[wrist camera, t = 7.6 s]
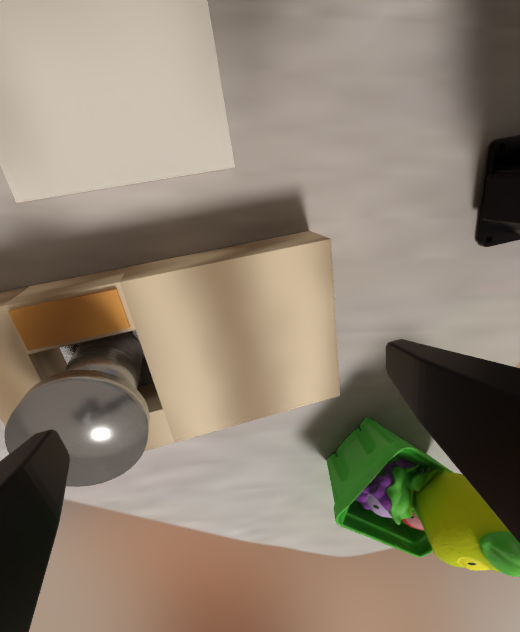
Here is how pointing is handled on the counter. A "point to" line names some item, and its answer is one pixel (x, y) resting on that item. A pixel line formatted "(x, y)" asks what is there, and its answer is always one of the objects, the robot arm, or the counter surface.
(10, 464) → the robot arm
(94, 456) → the peg
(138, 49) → the tab
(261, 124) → the counter surface
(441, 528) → the fruit basket
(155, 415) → the rail plate
